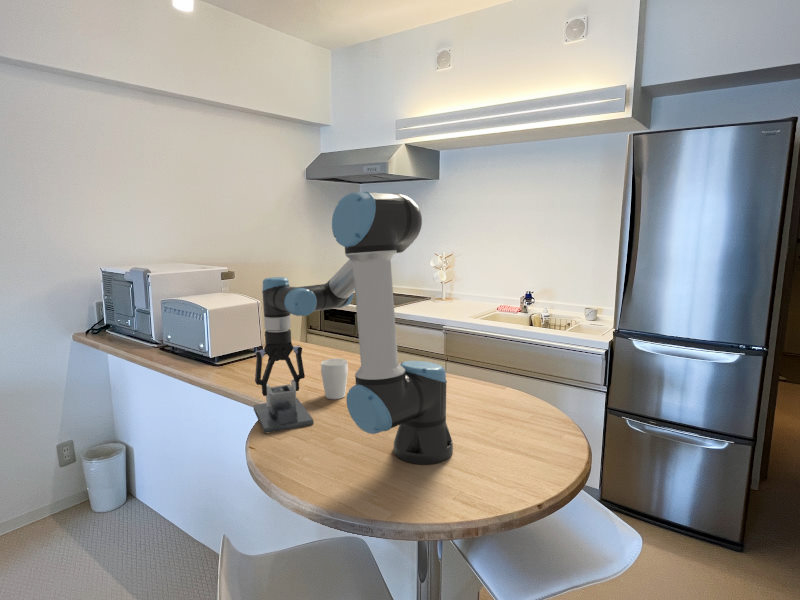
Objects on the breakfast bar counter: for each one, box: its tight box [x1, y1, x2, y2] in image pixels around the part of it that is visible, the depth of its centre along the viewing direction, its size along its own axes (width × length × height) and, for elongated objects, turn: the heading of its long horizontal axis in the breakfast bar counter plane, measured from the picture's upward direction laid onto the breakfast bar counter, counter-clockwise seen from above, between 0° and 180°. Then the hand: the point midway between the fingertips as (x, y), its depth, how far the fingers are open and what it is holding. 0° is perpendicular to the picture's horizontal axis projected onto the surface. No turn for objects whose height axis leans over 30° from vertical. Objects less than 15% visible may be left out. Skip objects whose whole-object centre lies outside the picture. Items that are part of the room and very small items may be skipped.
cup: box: [320, 358, 349, 400], centre depth 164 cm, size 9×9×12 cm
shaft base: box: [253, 391, 314, 434], centre depth 147 cm, size 20×14×8 cm
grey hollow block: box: [269, 383, 296, 415], centre depth 147 cm, size 7×7×6 cm
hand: (281, 403), depth 147 cm, fingers closed on grey hollow block, 7 cm apart
